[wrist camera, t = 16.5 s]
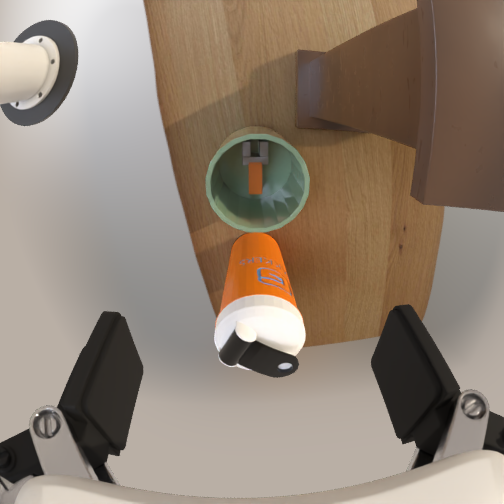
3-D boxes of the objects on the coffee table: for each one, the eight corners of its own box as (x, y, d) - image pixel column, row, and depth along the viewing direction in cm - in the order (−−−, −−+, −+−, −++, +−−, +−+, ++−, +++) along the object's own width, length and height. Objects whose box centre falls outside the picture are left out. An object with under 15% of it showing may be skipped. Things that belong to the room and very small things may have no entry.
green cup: (217, 201, 39) (209, 233, 30) (214, 127, 34) (203, 135, 25) (292, 200, 39) (306, 232, 30) (295, 126, 34) (311, 135, 25)
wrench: (266, 187, 37) (268, 194, 35) (243, 187, 37) (242, 194, 35) (266, 138, 34) (268, 141, 32) (242, 138, 34) (241, 141, 32)
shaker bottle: (273, 285, 46) (287, 393, 28) (217, 270, 44) (202, 379, 27) (295, 235, 41) (327, 337, 24) (234, 217, 40) (225, 316, 22)
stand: (295, 126, 34) (422, 204, 9) (295, 51, 29) (420, -53, 4) (368, 132, 34) (551, 219, 9) (371, 61, 29) (563, 44, 4)
